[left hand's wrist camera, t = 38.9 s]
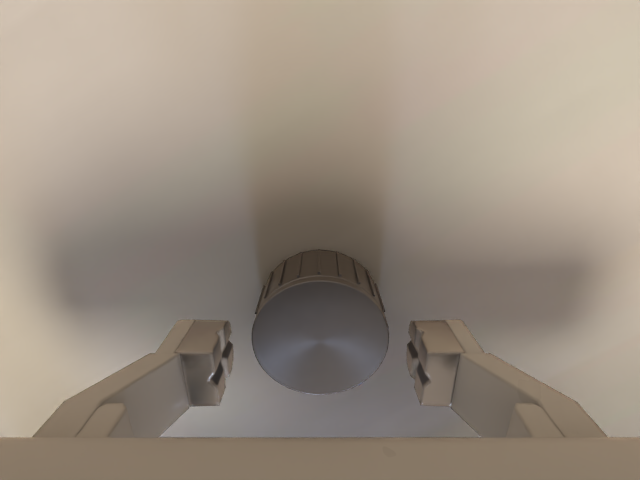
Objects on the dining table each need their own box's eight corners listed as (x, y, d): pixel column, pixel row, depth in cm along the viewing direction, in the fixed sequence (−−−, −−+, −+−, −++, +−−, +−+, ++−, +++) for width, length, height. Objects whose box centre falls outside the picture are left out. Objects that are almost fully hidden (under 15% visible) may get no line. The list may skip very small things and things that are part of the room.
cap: (367, 355, 13) (376, 402, 11) (257, 343, 13) (246, 389, 11) (389, 256, 12) (404, 288, 10) (266, 241, 12) (253, 271, 10)
